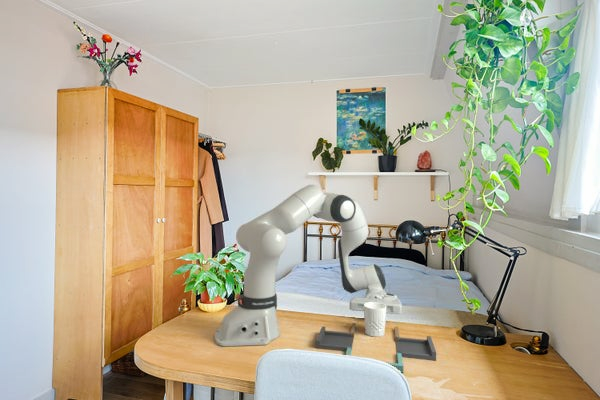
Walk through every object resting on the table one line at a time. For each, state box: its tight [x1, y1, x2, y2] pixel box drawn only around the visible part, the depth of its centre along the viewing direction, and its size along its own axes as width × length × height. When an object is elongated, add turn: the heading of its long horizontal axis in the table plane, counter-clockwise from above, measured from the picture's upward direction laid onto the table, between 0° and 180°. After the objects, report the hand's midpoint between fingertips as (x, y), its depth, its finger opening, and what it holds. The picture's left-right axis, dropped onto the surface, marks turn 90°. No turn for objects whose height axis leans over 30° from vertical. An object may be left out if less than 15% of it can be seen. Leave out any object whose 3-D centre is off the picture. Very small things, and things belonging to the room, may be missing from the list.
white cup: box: [363, 302, 387, 338], centre depth 128 cm, size 8×8×10 cm
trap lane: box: [315, 322, 437, 374], centre depth 118 cm, size 32×36×2 cm
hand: (375, 311), depth 137 cm, fingers closed
